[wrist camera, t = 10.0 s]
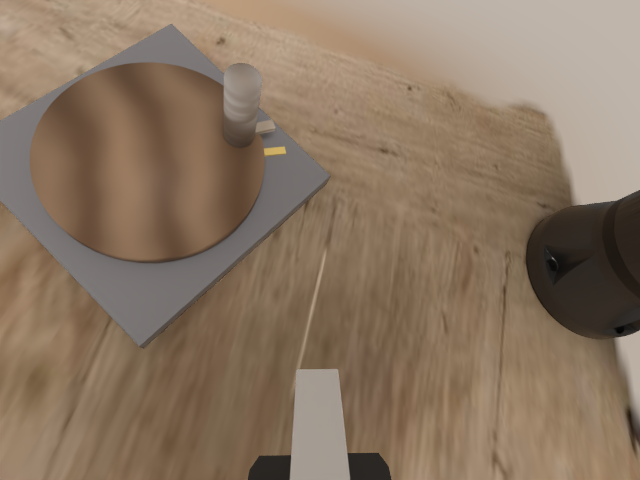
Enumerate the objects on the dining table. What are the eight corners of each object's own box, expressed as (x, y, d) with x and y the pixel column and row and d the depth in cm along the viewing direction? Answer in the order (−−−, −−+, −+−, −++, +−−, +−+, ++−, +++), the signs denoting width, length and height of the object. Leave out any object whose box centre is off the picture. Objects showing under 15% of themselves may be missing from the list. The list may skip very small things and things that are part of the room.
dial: (65, 294, 35) (12, 263, 26) (15, 92, 39) (-44, 8, 31) (306, 222, 41) (329, 177, 33) (240, 56, 46) (244, -22, 37)
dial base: (173, 37, 48) (171, 22, 46) (326, 184, 46) (331, 174, 44) (-37, 160, 39) (-51, 147, 37) (143, 348, 37) (138, 346, 35)
